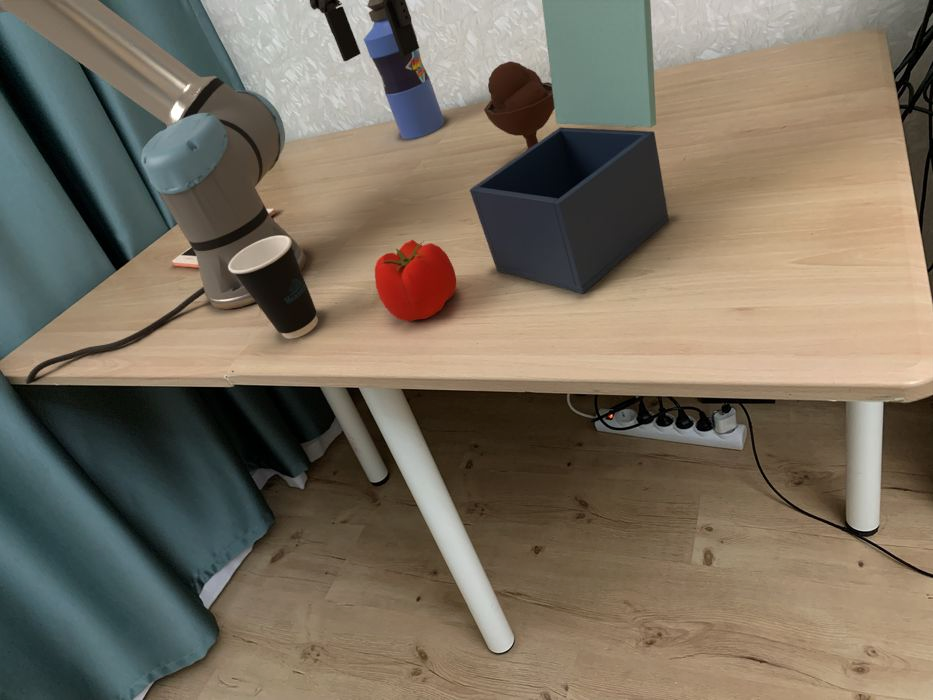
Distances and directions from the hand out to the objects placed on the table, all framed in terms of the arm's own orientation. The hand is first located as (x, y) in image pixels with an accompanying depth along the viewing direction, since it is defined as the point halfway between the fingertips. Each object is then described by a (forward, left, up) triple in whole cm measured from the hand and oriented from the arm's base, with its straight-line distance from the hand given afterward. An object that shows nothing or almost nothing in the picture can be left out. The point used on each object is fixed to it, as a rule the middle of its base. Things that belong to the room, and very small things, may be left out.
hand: (379, 55), depth 95 cm
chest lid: (+5, -33, -2) cm, 34 cm away
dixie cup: (-31, -9, -22) cm, 39 cm away
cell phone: (-22, +34, -22) cm, 46 cm away
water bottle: (+22, +30, -22) cm, 43 cm away
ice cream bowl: (+15, -8, -22) cm, 28 cm away
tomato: (-21, -23, -22) cm, 38 cm away
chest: (-4, -33, -22) cm, 40 cm away
